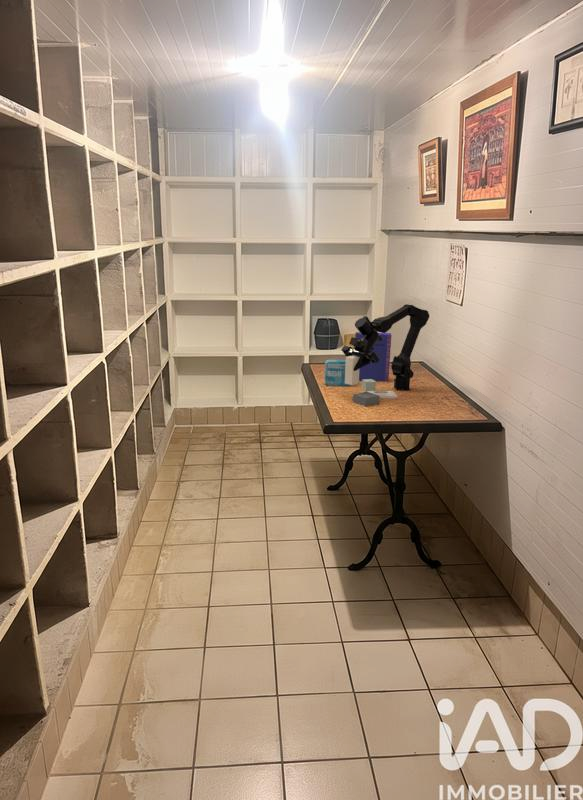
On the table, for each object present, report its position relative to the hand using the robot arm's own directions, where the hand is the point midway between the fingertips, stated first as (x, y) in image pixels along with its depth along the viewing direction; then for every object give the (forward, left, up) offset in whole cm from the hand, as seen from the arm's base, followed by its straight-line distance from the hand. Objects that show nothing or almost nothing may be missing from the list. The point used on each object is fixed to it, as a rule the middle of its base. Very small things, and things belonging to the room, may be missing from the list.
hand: (350, 369), depth 266 cm
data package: (+1, -27, -14) cm, 30 cm away
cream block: (-1, -1, -7) cm, 7 cm away
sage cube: (-12, -15, -13) cm, 23 cm away
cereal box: (-18, -37, -14) cm, 43 cm away
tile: (-16, -5, -13) cm, 22 cm away
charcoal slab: (-6, +7, -14) cm, 17 cm away
